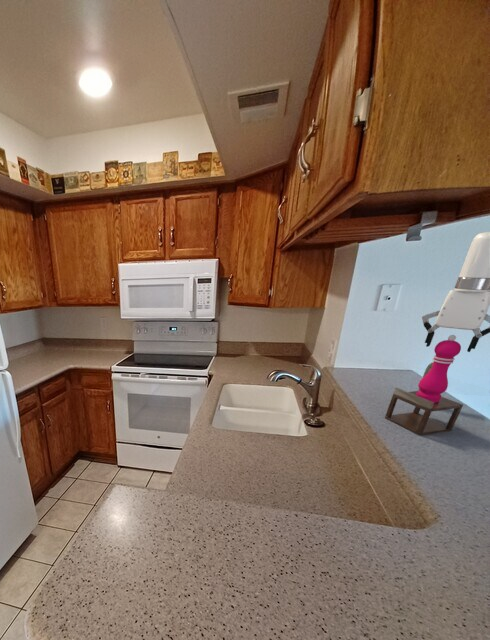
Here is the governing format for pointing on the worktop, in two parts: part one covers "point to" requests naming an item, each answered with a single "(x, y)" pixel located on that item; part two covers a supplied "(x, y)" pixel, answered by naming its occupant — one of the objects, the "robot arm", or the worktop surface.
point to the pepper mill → (439, 370)
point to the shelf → (423, 422)
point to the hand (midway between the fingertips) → (447, 348)
